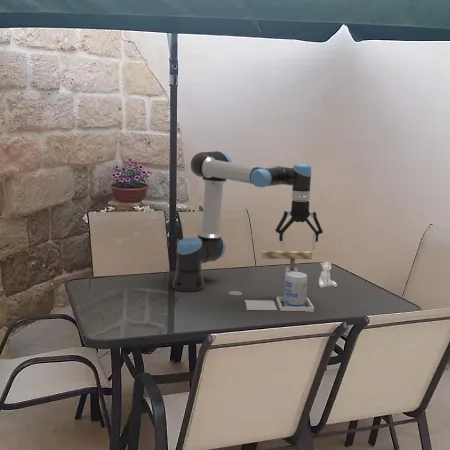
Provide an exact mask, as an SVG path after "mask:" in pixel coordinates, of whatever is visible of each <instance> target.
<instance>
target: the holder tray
mask: <svg viewBox="0 0 450 450" xmlns="http://www.w3.org/2000/svg"><path fill="white" fill-rule="evenodd" d="M281 302H282V303H284V296H276V304H277V306H278V308H279V311H280V310H281V311H306V312H305V313H314V311H315V310H314V309H315V308H314V305H313V304H312V302H311V301H310V299H309V298H308V297H307V296H306V302H305V303H306V305H308V306H305V307H285V306H282V303H281ZM281 311H280V312H281ZM308 311H309V312H308Z"/></svg>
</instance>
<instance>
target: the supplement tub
mask: <svg viewBox="0 0 450 450" xmlns="http://www.w3.org/2000/svg"><path fill="white" fill-rule="evenodd" d="M285 274H286V278H285V277H284V278H285V279H284V292H283V293H284V294H283V297H284V302H283V307H306V303H307V302H306V297H307V286H308V275H307V274H306V273H304V272H300V271H298V272H288V273H286V272H285Z"/></svg>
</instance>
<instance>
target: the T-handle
mask: <svg viewBox="0 0 450 450" xmlns="http://www.w3.org/2000/svg"><path fill="white" fill-rule="evenodd" d="M261 259H263V260H265V259H266V260H290V261H289V268H290V269H294V268H295V266H296V264H295V263H296V261H295V260H312V259H313V252H312V251H311V250H310V251H309V250H306V251H305V250H302V251H301V250H300V251H299V250H262V251H261Z"/></svg>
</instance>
